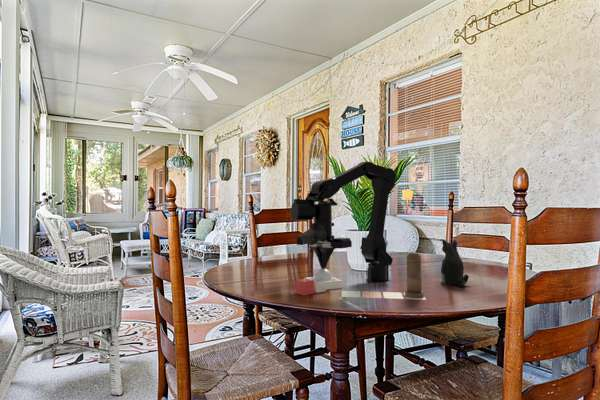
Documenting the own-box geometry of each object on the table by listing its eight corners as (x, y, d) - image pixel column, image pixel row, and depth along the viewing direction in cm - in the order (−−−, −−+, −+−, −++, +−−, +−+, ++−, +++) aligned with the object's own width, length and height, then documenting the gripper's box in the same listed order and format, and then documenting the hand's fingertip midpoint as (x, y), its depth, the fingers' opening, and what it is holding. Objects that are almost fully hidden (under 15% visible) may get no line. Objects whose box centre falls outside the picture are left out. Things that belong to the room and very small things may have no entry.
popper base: (329, 284, 128) (329, 275, 128) (342, 290, 120) (342, 280, 120) (305, 286, 125) (304, 277, 125) (315, 292, 117) (315, 282, 117)
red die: (305, 291, 119) (305, 278, 119) (314, 293, 116) (313, 280, 116) (295, 293, 116) (295, 279, 116) (304, 295, 113) (304, 281, 113)
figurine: (463, 282, 131) (462, 238, 131) (477, 288, 121) (476, 241, 121) (435, 282, 130) (435, 238, 130) (447, 289, 121) (447, 241, 121)
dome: (327, 283, 126) (327, 266, 127) (335, 286, 121) (335, 269, 121) (311, 284, 124) (310, 267, 124) (318, 288, 119) (318, 270, 119)
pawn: (415, 293, 112) (415, 250, 113) (427, 297, 108) (427, 252, 108) (401, 294, 111) (400, 251, 111) (412, 298, 106) (412, 253, 106)
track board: (422, 294, 114) (422, 292, 114) (428, 303, 104) (428, 300, 104) (341, 292, 117) (341, 289, 117) (339, 300, 107) (339, 297, 107)
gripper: (284, 220, 123) (284, 268, 123) (330, 221, 111) (331, 275, 110) (307, 218, 131) (307, 264, 131) (352, 220, 119) (352, 270, 119)
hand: (323, 268), depth 123 cm, fingers closed
